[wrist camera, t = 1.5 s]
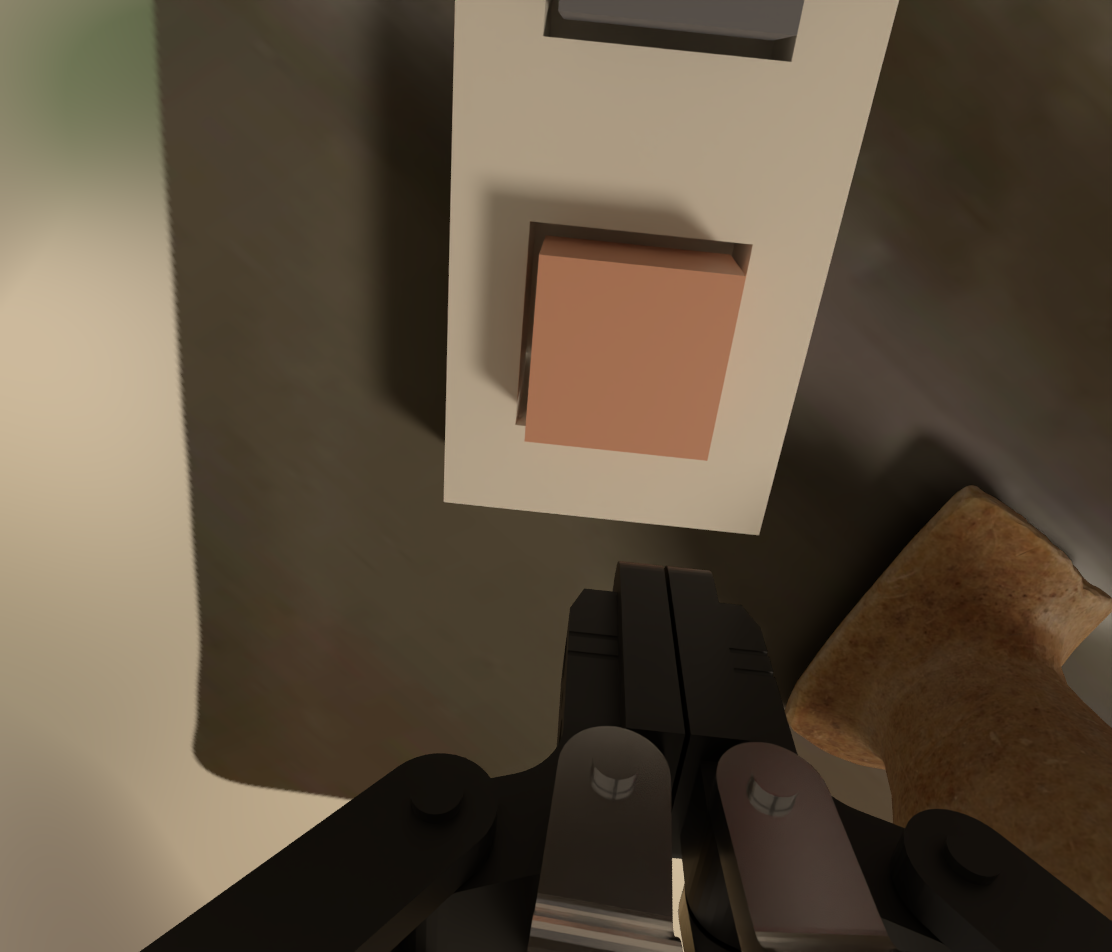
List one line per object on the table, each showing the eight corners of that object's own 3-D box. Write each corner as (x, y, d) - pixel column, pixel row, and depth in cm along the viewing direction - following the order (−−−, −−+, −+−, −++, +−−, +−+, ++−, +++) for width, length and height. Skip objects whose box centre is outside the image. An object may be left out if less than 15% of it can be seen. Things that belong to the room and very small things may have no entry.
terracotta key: (545, 235, 24) (539, 254, 21) (730, 254, 24) (746, 276, 21) (531, 405, 27) (524, 441, 24) (697, 423, 27) (707, 460, 24)
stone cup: (941, 778, 39) (1112, 1131, 26) (746, 698, 37) (825, 1036, 24) (1168, 568, 33) (1554, 902, 19) (945, 458, 31) (1204, 745, 18)
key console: (491, -431, 19) (467, -543, 16) (949, -384, 19) (1026, -487, 16) (461, 454, 32) (443, 501, 28) (741, 484, 32) (758, 535, 28)
